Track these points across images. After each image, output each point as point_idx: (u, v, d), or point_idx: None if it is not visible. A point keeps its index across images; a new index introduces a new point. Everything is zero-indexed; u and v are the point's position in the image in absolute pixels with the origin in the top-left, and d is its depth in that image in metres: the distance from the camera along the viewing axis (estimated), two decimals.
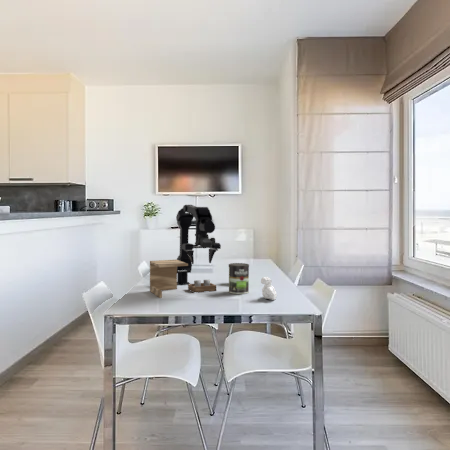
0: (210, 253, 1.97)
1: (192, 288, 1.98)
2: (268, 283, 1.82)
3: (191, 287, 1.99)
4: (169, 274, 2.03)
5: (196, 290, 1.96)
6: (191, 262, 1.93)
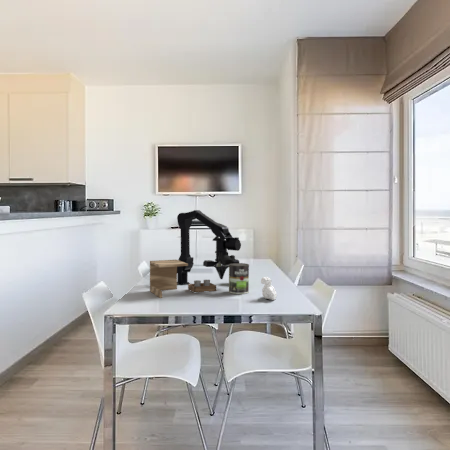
0: None
1: (192, 288, 1.98)
2: (268, 283, 1.82)
3: (191, 287, 1.99)
4: (169, 274, 2.03)
5: (196, 290, 1.96)
6: None
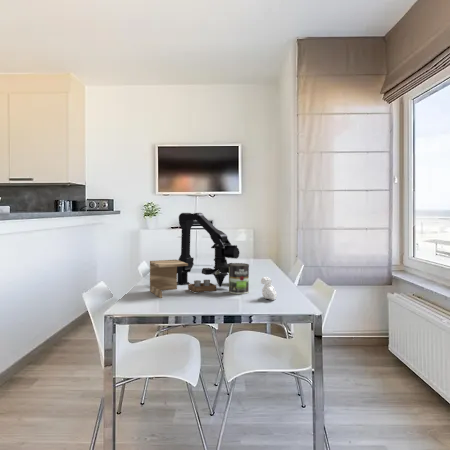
0: (220, 277, 2.07)
1: (192, 288, 1.98)
2: (268, 283, 1.82)
3: (191, 287, 1.99)
4: (169, 274, 2.03)
5: (196, 290, 1.96)
6: None
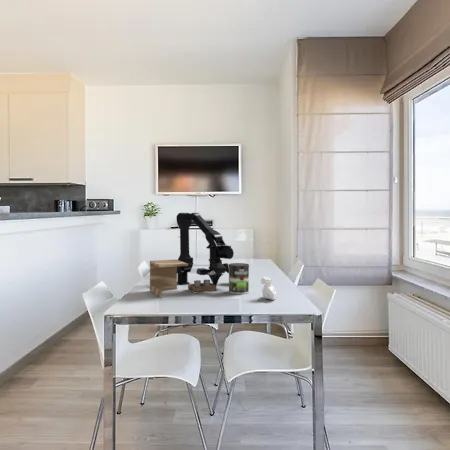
0: (215, 277, 2.05)
1: (192, 288, 1.98)
2: (268, 283, 1.82)
3: (191, 287, 1.99)
4: (169, 274, 2.03)
5: (196, 290, 1.96)
6: None
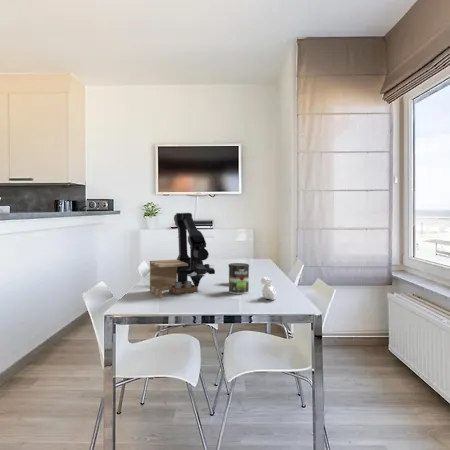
0: None
1: (173, 290, 1.93)
2: (268, 283, 1.82)
3: (172, 289, 1.95)
4: (169, 274, 2.03)
5: (176, 292, 1.91)
6: None
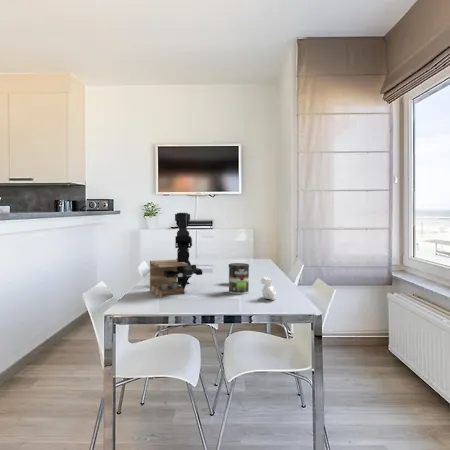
0: None
1: None
2: (268, 283, 1.82)
3: None
4: None
5: (163, 293, 1.89)
6: None
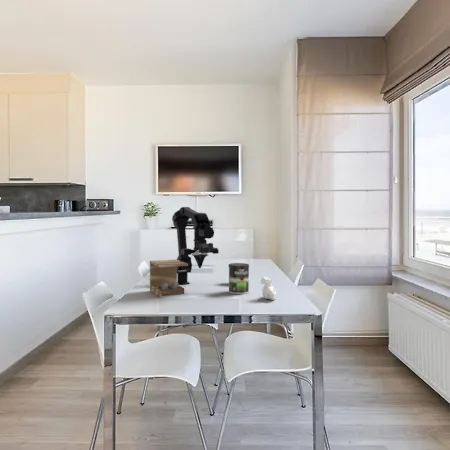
0: (200, 258, 2.01)
1: None
2: (268, 283, 1.82)
3: None
4: (169, 274, 2.03)
5: (162, 293, 1.89)
6: (198, 266, 2.02)
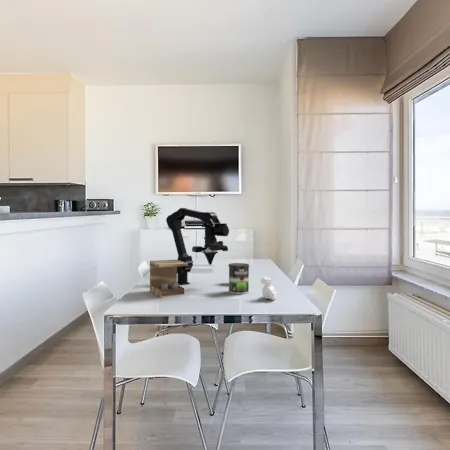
0: (210, 255, 2.10)
1: None
2: (268, 283, 1.82)
3: None
4: (169, 274, 2.03)
5: (162, 293, 1.89)
6: None
